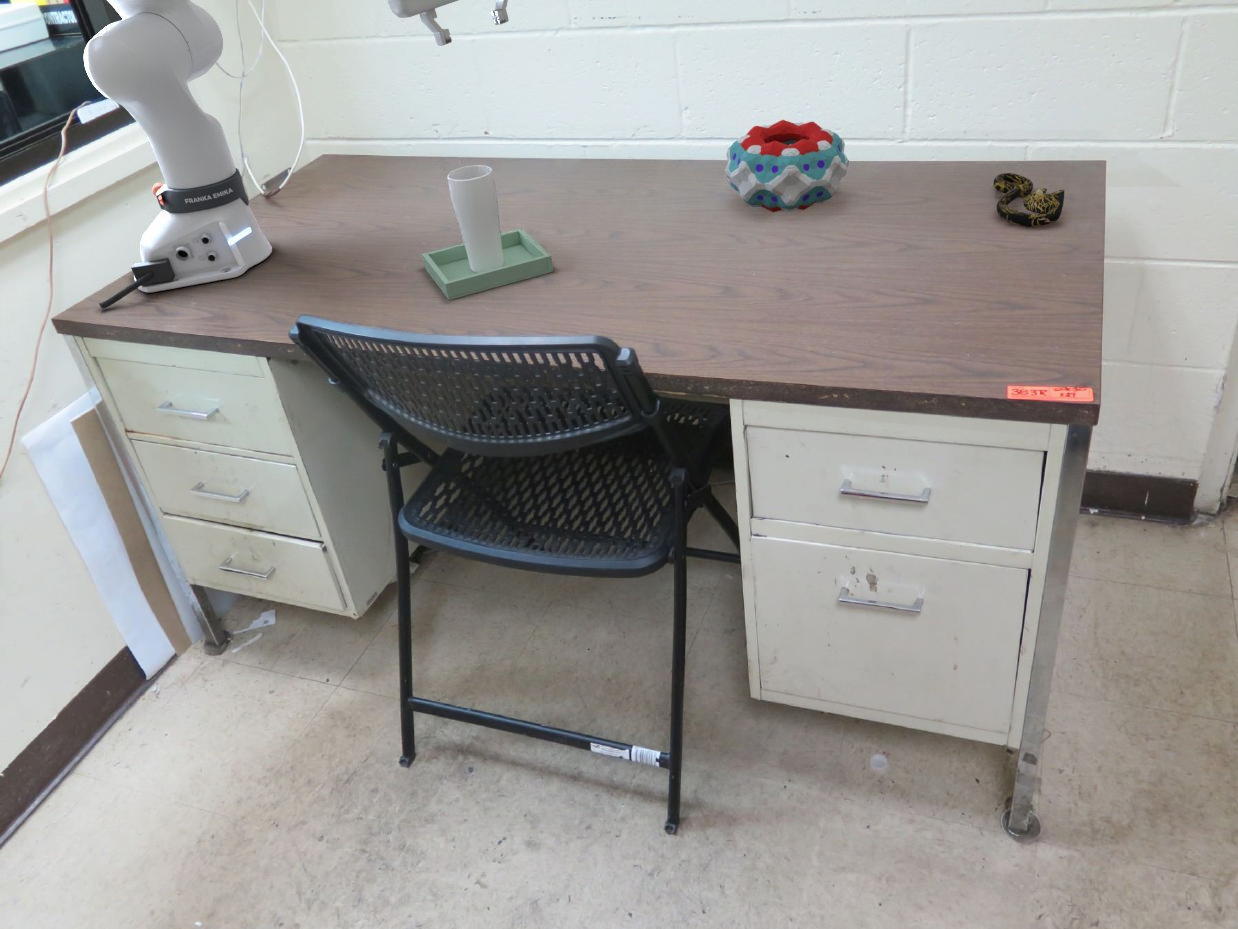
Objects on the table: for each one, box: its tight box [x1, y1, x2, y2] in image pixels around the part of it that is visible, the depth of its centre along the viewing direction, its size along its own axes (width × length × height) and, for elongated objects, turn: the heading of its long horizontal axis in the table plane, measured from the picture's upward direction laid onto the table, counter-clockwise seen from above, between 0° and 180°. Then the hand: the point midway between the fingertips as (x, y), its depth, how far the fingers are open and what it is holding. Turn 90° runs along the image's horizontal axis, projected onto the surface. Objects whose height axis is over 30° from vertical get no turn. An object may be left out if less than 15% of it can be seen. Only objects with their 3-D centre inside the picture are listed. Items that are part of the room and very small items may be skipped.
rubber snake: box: [993, 172, 1065, 228], centre depth 150 cm, size 18×5×10 cm
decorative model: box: [724, 119, 850, 213], centre depth 160 cm, size 19×14×20 cm
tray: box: [421, 228, 554, 301], centre depth 151 cm, size 17×14×3 cm
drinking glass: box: [446, 164, 504, 273], centre depth 148 cm, size 7×7×15 cm
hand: (473, 33), depth 135 cm, fingers open, 8 cm apart
